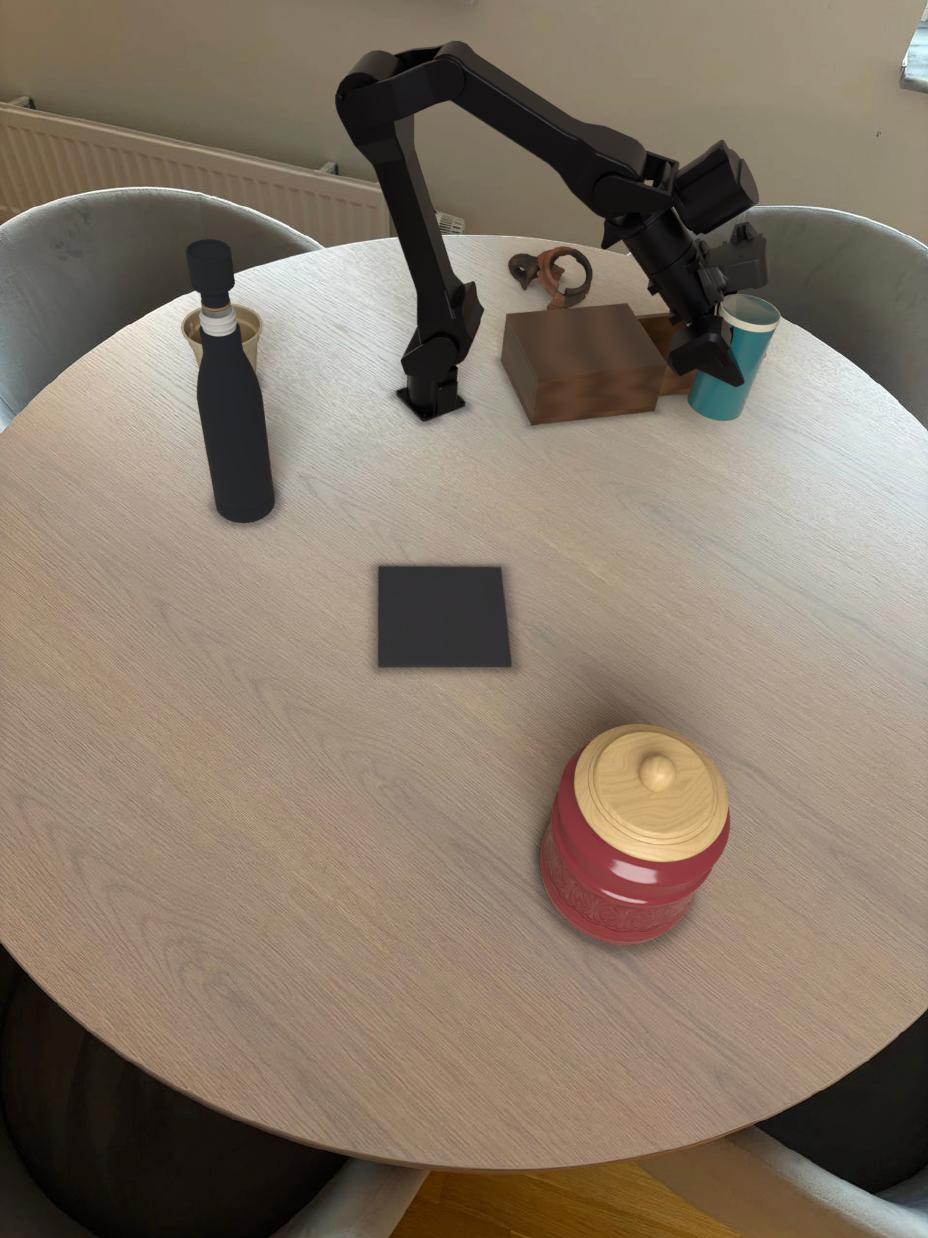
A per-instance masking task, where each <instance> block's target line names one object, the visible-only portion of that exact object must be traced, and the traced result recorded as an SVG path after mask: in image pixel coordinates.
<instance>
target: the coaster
mask: <svg viewBox="0 0 928 1238" xmlns="http://www.w3.org/2000/svg"><path fill="white" fill-rule="evenodd" d="M377 589H378V596H377V597H378V602H377V603H378V608H377V609H378V610H377V611H378V614H377V616H378V617H377V618H378V619H377V625H378V626H377V627H378V628H377V629H378V631H377V632H378V634H377V635H378V636H377V638H378V639H377V641H378V643H377V645H378V649H377V653H378V654H377V656H378V657H377V658H378V659H377V662H378V665H377V667H378V668H512V657H511V647H510V638H509V630H508V621H507V620H508V619H507V611H506V603H505V592H504V584H503V574H502V567H499V566H498V567H496V566H495V567H492V566H491V567H490V566H486V567H483V566H482V567H481V566H479V567H478V566H477V567H475V566H378V588H377Z"/></svg>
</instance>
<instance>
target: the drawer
mask: <svg viewBox="0 0 928 1238" xmlns="http://www.w3.org/2000/svg"><path fill="white" fill-rule="evenodd" d="M635 316H636V317H637V319H638V320H639V322H640V323H641V325H642V326H643V328H644V329H645V331H646V332H647V334H648V335H649V337H650V339H651V340H652V342H653V343H654V345H655V346H656V348H657V349H658V351H659V352H660V354H661V355H662V357H663V358H664V360H665V361H666V363H667V358H668V352H669V347H670V343H671V339H672V336H673V334H675V333H677V332H678V331H680V330H682V329H684V328H686V327H688V326H687V325H686V322H685V321H684V320H683V321H681V322H679V323H678V324H676V325H674V326H673V325H672V324H671V323H670V321H669V320H668V316H669V312H660V313H651V314H638V315H635ZM766 357H767V353H766V354H765V357H764V359H766ZM696 371H697V370H696V369H694V370H692V371H690V372H689V373H687V374H685V375H683V376H681V377H679V376H676V375H675V374H674V373H673V371H672V370H671V368H670V367H669V366H668V364H667V368H666V372H665V375H664V379H663V382H662V386H661V390H660V393H659V397H667V396H677V395H684V394H685V395H686V394H689V391H690V388H691V386H692V383H693V380H694V377H695V374H696Z"/></svg>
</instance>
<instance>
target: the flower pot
mask: <svg viewBox="0 0 928 1238" xmlns="http://www.w3.org/2000/svg"><path fill="white" fill-rule="evenodd" d="M231 305H232V306H233V309H234V310H235V312H236V319H237V323H238V324H239V325H240V330H241V338H242V346H243V351H244V352H245V354H246V356H247V358H248V360H249V361H250V363H251V365H252V367H253V369H254V371H255V374H256V375H257V366H258V365H257V364H258V362H257V361H258V344H259V341H260V339H261V336H260V335H261V334H262V332H263V327H264V325H263V321H262V317H261V316H260V315H259V314H258V313H257V312H256V311H255V310H253V309H251V308H250V307H247V306H246V305H241V304H236V303H232V302H231ZM200 309H201V307H198V308H196V309H194V310H192V311H191V312H189V313H188V314H186V316H185V317H184V318H183V320H182V322H181V324H180V330H181V334H182V337H183V338H184V339H185V340H186V341H187V343H188V346H189V347H190V348H191V350H192V352H193V355H194V357H195V360H196V363H197V366H198V369H199V368H200V363H201V359H202V355H203V350H202V344H201V338H200V332H199V328H200V325H201V324H200V318H199V314H200Z"/></svg>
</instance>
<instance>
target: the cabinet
mask: <svg viewBox="0 0 928 1238" xmlns="http://www.w3.org/2000/svg"><path fill="white" fill-rule="evenodd" d="M636 316H637V315H636V314H635V312H634V311H633V309H632V308H631V307H630V305H629V304H628V302H625V303H623V302H622V303H612V304H602V305H590V306H589V305H588V306H579V307H578V306H577V307H570V308H566V309H563V308H562V309H555V310H547V309H545V310H533V311H521V312H511V313H506V314H505V322H504V329H503V330H504V331H503V338H502V340H503V341H502V348H501V357H500V363H501V364H502V367H503V369H504V371H505V373H506V375H507V377H508V379H509V381H510V383H511V386H512V388H513V390H514V392H515V394H516V396H517V398H518V400H519V402H520V404H521V407H522V409H523V411H524V413H525V415H526V417H527V419H528V421H529V423H530V425H531V426H537V425H548V424H555V423H564V422H572V421H582V420H589V419H597V418H599V419H600V418H608V417H615V416H616V417H617V416H623V415H633V414H641V413H651V412H655V410H656V407H657V405H658V400H659V397H660V396H659V393H660V390H661V386H662V382H663V379H664V375H665V372H666V368H667V363H666V361H665V360H664V358H663V357H662V355H661V354H660V352H659V351H658V349H657V348H656V346H655V345H654V343H653V342H652V340H651V339H650V337H649V335H648V334H647V332H646V331H645V329H644V328H643V326H642V325H641V323H640V322H639V320H638V319H637V317H636Z"/></svg>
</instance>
